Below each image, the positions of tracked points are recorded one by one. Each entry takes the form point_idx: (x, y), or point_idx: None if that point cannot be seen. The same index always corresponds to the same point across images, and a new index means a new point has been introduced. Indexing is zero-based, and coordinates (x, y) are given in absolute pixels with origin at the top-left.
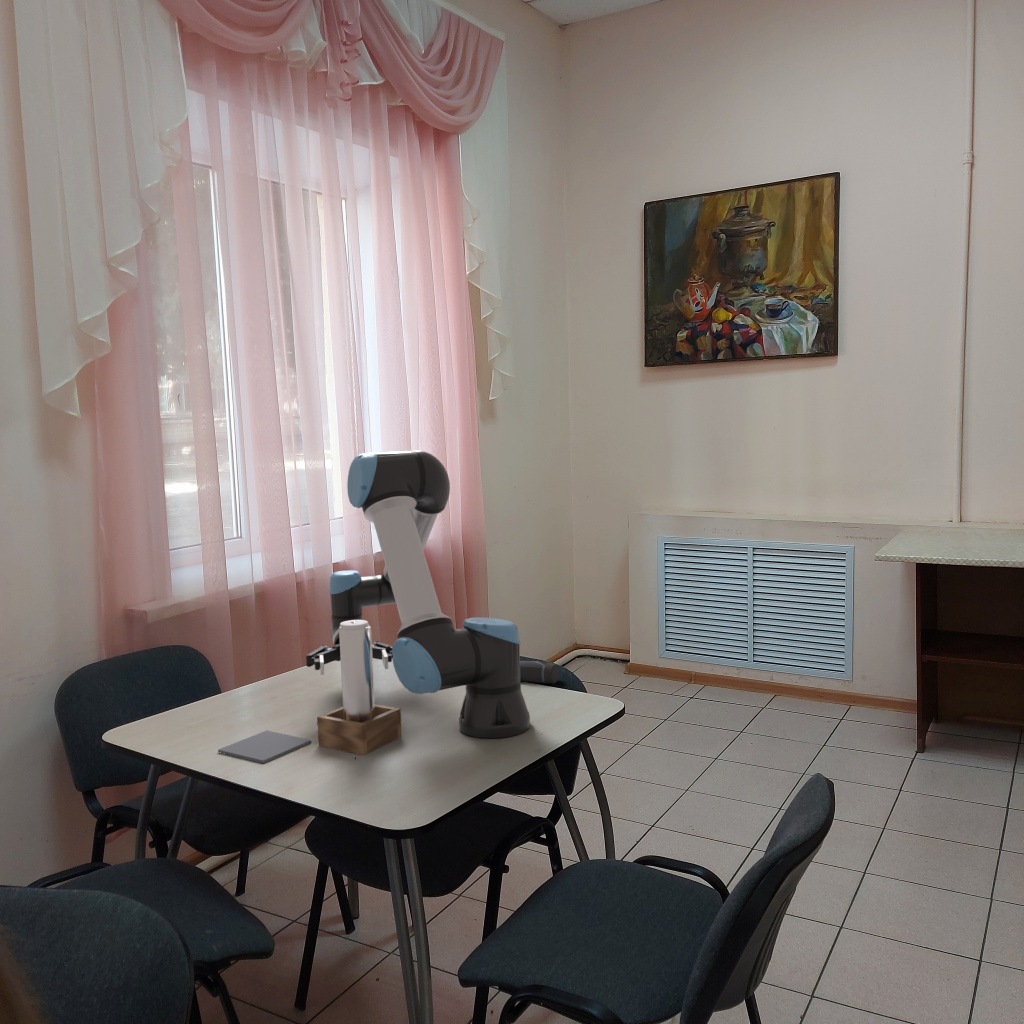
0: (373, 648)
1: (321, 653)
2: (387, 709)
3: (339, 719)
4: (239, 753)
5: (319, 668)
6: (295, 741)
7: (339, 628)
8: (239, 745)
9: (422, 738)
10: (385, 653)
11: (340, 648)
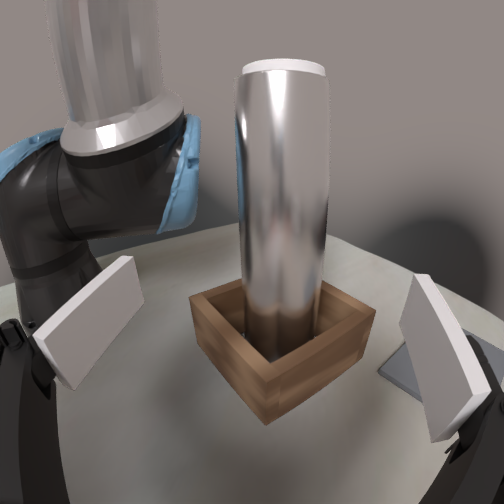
0: (21, 430)
1: (496, 457)
2: (212, 307)
3: (326, 288)
4: (475, 337)
5: (449, 448)
6: (408, 367)
7: (328, 82)
8: (491, 365)
9: (172, 324)
10: (88, 287)
11: (328, 141)
